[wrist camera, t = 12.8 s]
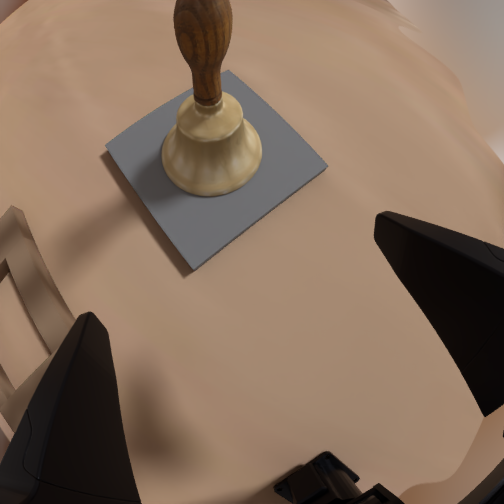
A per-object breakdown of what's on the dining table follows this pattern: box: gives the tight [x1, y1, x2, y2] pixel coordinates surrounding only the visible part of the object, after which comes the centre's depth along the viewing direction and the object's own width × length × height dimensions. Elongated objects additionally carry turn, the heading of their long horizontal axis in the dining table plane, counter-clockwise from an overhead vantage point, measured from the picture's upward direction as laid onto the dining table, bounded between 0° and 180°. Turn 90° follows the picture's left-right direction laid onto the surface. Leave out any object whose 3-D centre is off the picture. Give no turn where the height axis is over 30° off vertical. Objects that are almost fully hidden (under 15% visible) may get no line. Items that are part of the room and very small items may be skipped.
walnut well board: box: [0, 205, 76, 433], centre depth 17 cm, size 18×16×2 cm
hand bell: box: [161, 0, 262, 197], centre depth 14 cm, size 8×8×16 cm
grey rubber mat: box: [105, 70, 328, 271], centre depth 22 cm, size 14×14×1 cm
